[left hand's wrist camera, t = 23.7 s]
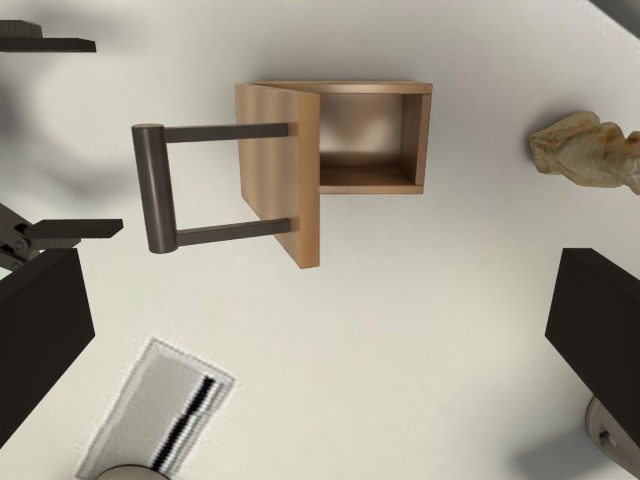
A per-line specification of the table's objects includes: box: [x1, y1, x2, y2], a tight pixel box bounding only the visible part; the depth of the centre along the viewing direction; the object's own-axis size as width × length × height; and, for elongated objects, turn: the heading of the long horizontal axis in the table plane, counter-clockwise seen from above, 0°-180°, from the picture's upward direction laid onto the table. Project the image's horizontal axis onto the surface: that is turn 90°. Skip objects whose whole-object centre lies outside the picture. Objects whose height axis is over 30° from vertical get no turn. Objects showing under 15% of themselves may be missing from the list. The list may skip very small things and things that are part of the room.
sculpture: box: [529, 111, 640, 195], centre depth 40 cm, size 6×7×15 cm
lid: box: [131, 84, 320, 269], centre depth 29 cm, size 16×9×9 cm
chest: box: [244, 80, 432, 194], centre depth 42 cm, size 15×9×9 cm, turn 90°
